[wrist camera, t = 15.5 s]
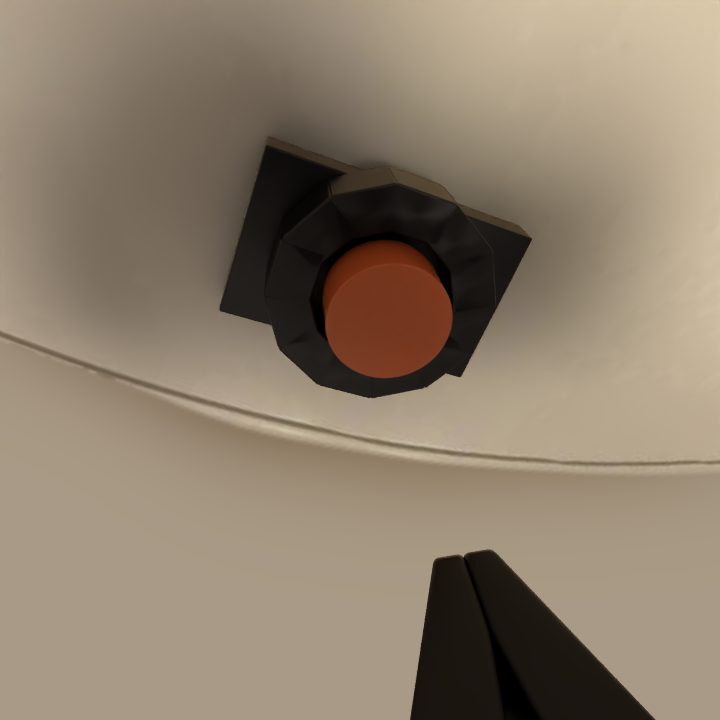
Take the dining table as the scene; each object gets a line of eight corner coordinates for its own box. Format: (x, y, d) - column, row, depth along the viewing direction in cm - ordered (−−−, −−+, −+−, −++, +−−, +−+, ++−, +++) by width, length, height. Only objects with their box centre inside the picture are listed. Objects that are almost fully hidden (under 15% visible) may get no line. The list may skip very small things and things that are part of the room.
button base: (528, 209, 19) (566, 242, 16) (446, 372, 21) (467, 424, 19) (273, 115, 16) (269, 136, 14) (218, 309, 19) (206, 357, 17)
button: (457, 259, 16) (474, 286, 15) (411, 357, 18) (422, 391, 16) (345, 222, 16) (351, 246, 14) (306, 329, 17) (308, 361, 15)
